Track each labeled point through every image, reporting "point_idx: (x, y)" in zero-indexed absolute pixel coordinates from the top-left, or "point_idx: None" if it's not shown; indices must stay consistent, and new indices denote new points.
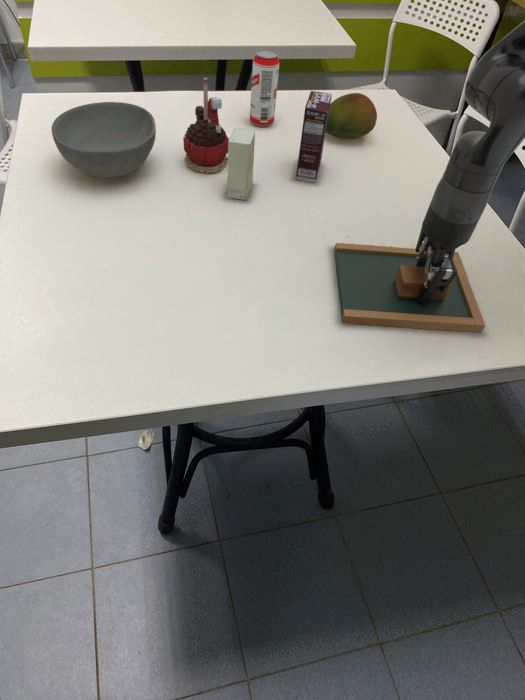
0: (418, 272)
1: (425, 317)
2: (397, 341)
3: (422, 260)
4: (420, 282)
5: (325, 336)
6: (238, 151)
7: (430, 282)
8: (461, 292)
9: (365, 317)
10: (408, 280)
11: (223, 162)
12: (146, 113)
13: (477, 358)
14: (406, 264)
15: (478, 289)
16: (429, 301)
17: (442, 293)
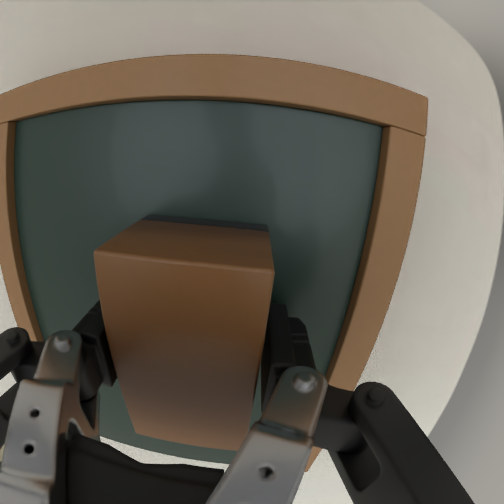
0: (166, 400)
1: (360, 334)
2: (386, 380)
3: (92, 389)
4: (242, 412)
5: (331, 466)
6: None
7: (344, 476)
8: (193, 103)
9: (319, 451)
10: (230, 440)
11: None
12: None
13: (486, 178)
14: (61, 301)
15: (155, 21)
16: (305, 330)
17: (386, 388)
